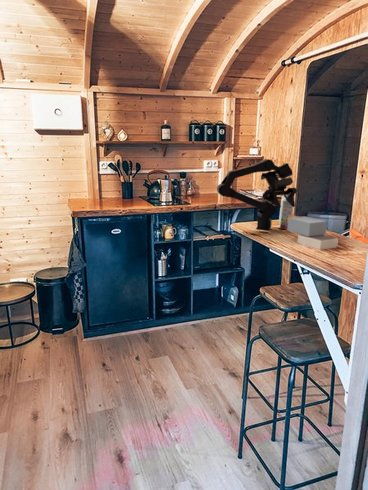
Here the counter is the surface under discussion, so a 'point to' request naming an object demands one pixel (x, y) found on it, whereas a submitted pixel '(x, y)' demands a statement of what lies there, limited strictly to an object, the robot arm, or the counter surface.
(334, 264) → the counter surface
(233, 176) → the robot arm
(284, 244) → the counter surface
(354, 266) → the counter surface
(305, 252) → the counter surface
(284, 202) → the snack box
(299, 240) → the carton base
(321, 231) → the grey boxy piece
